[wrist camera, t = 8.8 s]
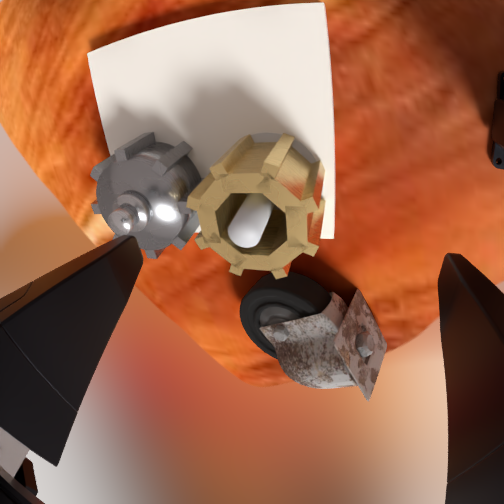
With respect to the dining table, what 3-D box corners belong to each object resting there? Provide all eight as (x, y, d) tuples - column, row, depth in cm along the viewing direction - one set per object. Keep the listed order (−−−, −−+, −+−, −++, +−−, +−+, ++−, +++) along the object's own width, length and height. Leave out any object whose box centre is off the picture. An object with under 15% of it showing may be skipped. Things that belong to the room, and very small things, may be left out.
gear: (201, 125, 19) (157, 155, 14) (221, 233, 23) (191, 282, 19) (106, 139, 21) (55, 169, 17) (133, 230, 26) (95, 271, 21)
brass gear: (323, 132, 17) (317, 161, 13) (325, 232, 21) (318, 282, 17) (213, 136, 19) (176, 165, 15) (229, 228, 23) (202, 272, 19)
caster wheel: (248, 272, 31) (338, 237, 24) (306, 358, 32) (392, 343, 26) (207, 314, 26) (306, 285, 19) (278, 405, 28) (374, 402, 21)
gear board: (325, 6, 14) (314, -21, 8) (334, 227, 22) (326, 301, 16) (100, 50, 18) (22, 69, 12) (142, 220, 27) (92, 275, 21)
